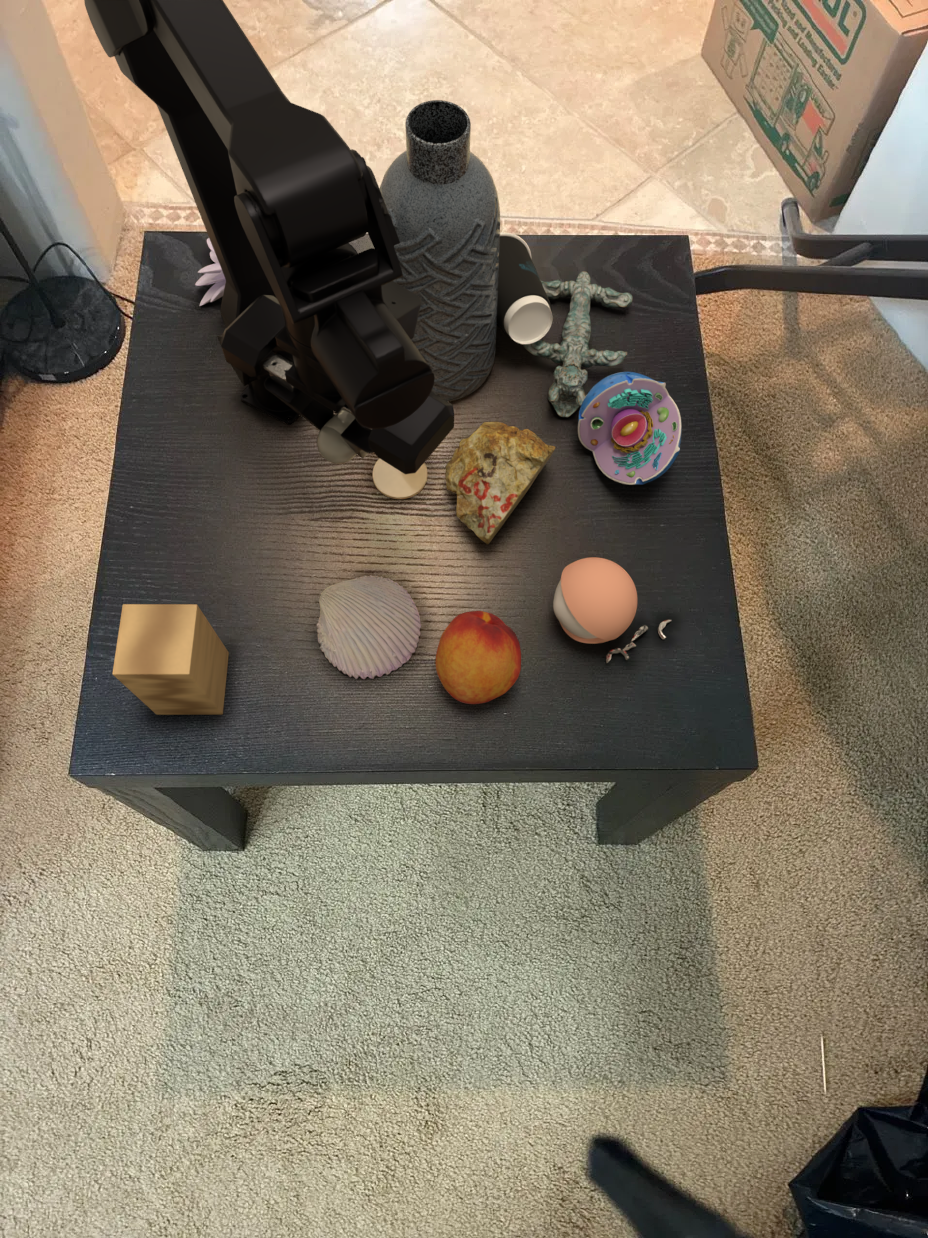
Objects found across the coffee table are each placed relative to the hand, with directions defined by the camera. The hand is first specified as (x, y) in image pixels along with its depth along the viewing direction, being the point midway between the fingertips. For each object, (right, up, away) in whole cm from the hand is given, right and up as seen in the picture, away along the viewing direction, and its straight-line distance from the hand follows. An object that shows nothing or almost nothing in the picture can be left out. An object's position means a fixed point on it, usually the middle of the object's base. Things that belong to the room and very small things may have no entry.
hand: (347, 442), depth 75 cm
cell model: (+30, +2, +14) cm, 33 cm away
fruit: (+11, -20, +6) cm, 24 cm away
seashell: (+1, -16, +8) cm, 18 cm away
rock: (+12, -3, +13) cm, 18 cm away
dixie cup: (+17, +15, +13) cm, 26 cm away
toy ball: (+22, -15, +8) cm, 28 cm away
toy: (+27, -18, +7) cm, 33 cm away
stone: (0, 0, +1) cm, 1 cm away
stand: (-15, -21, +5) cm, 26 cm away
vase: (+7, +13, +19) cm, 24 cm away
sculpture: (+22, +14, +20) cm, 33 cm away
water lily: (-9, +22, +23) cm, 33 cm away
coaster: (+4, -1, +14) cm, 14 cm away
